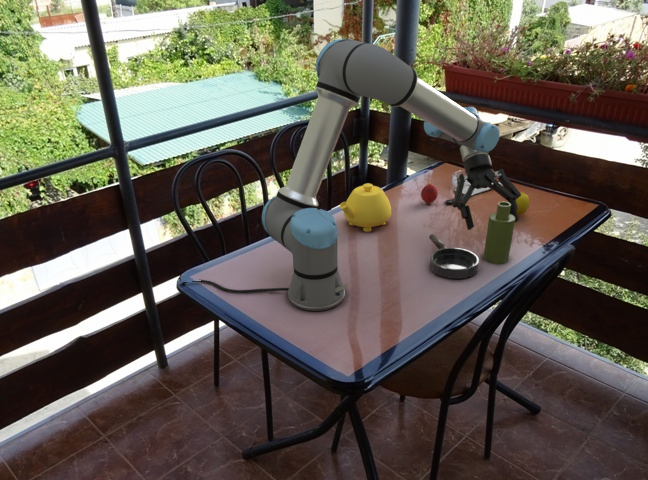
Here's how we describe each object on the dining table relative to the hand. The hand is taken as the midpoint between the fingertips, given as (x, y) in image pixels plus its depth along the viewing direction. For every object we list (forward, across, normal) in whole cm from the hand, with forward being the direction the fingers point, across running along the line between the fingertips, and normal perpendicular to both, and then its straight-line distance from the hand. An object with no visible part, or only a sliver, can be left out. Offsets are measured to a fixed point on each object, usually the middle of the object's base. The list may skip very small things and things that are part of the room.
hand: (493, 225), depth 161 cm
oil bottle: (+9, 0, -3) cm, 10 cm away
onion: (-21, +3, -34) cm, 40 cm away
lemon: (-9, -21, -21) cm, 31 cm away
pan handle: (+1, +14, -9) cm, 17 cm away
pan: (+10, +14, -2) cm, 18 cm away
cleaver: (-26, -15, -38) cm, 48 cm away
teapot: (-14, +31, -26) cm, 43 cm away
